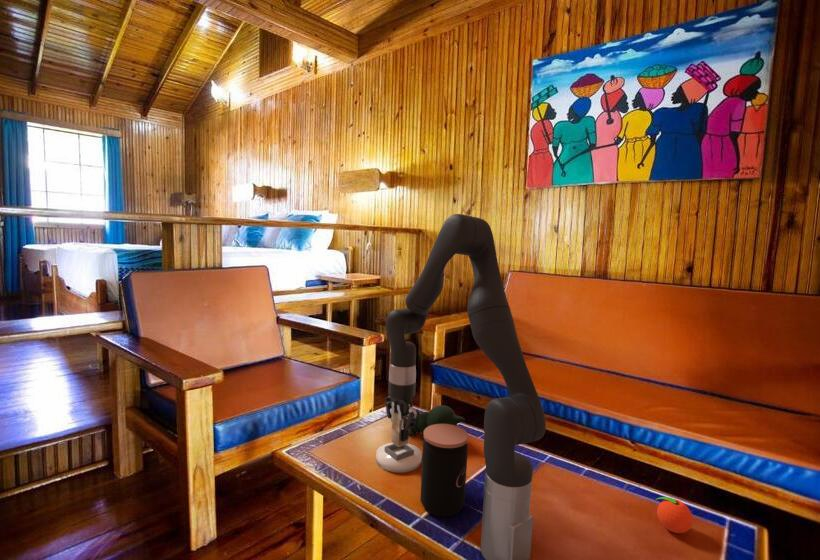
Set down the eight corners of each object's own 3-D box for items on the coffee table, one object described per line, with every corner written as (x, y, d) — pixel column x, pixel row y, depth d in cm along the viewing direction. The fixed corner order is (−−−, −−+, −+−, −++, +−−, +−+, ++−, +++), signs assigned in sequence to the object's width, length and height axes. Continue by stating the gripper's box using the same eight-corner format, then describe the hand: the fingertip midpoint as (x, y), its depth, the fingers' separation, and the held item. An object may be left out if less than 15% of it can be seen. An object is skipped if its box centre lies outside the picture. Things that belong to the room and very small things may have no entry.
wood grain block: (408, 443, 123) (409, 413, 122) (398, 447, 121) (399, 416, 120) (401, 438, 126) (402, 409, 125) (391, 442, 124) (392, 412, 123)
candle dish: (430, 463, 123) (431, 451, 122) (393, 477, 115) (393, 465, 114) (403, 444, 133) (404, 433, 133) (367, 456, 125) (367, 444, 125)
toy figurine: (388, 437, 141) (460, 452, 128) (385, 380, 139) (458, 389, 127) (402, 426, 149) (471, 439, 137) (400, 372, 147) (469, 380, 135)
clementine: (646, 526, 100) (649, 497, 99) (655, 513, 105) (659, 485, 104) (686, 545, 94) (690, 514, 93) (694, 530, 99) (698, 501, 98)
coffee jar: (462, 522, 99) (466, 447, 96) (416, 514, 101) (419, 441, 98) (465, 494, 109) (469, 426, 107) (424, 487, 111) (427, 421, 109)
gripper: (428, 384, 118) (425, 444, 120) (398, 369, 129) (396, 424, 131) (406, 390, 113) (403, 452, 115) (377, 374, 124) (375, 431, 126)
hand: (399, 437), depth 123 cm, fingers closed on wood grain block, 3 cm apart
